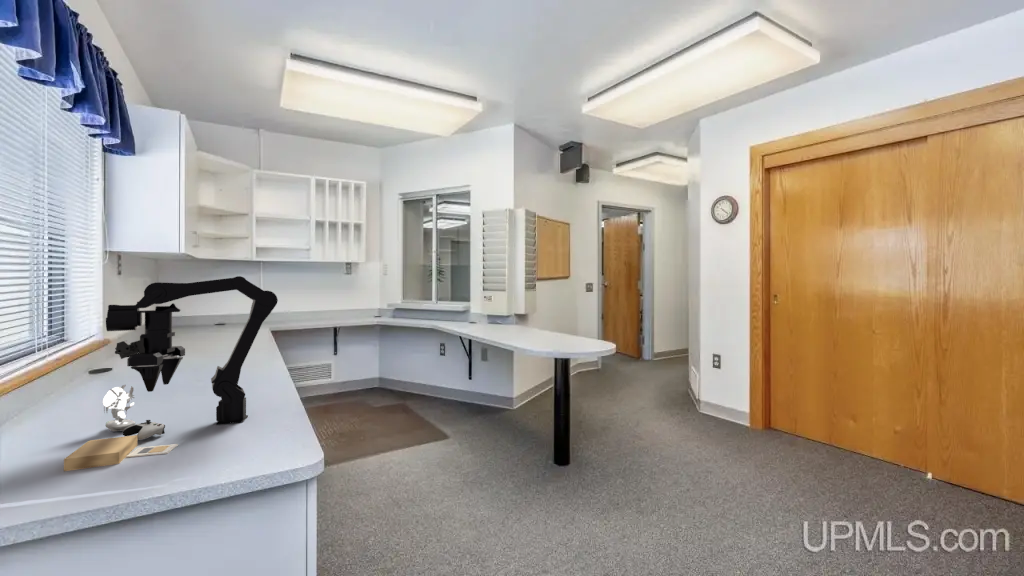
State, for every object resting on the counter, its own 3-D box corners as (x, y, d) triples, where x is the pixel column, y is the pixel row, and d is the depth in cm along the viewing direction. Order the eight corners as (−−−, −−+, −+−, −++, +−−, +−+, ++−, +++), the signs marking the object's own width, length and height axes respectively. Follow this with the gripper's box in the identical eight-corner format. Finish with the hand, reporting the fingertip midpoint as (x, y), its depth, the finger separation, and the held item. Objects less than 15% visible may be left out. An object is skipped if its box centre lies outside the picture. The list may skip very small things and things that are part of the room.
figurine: (140, 430, 121) (140, 386, 121) (110, 437, 115) (110, 390, 115) (125, 425, 125) (125, 382, 125) (95, 431, 120) (96, 387, 120)
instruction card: (178, 445, 109) (178, 443, 109) (167, 453, 103) (167, 451, 103) (138, 448, 106) (138, 447, 106) (125, 457, 101) (125, 455, 101)
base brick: (137, 447, 109) (137, 435, 109) (119, 465, 97) (119, 452, 97) (88, 453, 105) (89, 440, 105) (63, 473, 93) (64, 459, 93)
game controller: (118, 432, 114) (139, 412, 118) (135, 444, 117) (155, 424, 121) (136, 437, 109) (158, 416, 113) (154, 449, 112) (174, 428, 116)
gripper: (139, 327, 125) (139, 383, 125) (101, 333, 107) (101, 398, 107) (185, 326, 129) (185, 380, 128) (156, 332, 111) (156, 394, 111)
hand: (158, 387), depth 119 cm, fingers open, 9 cm apart
